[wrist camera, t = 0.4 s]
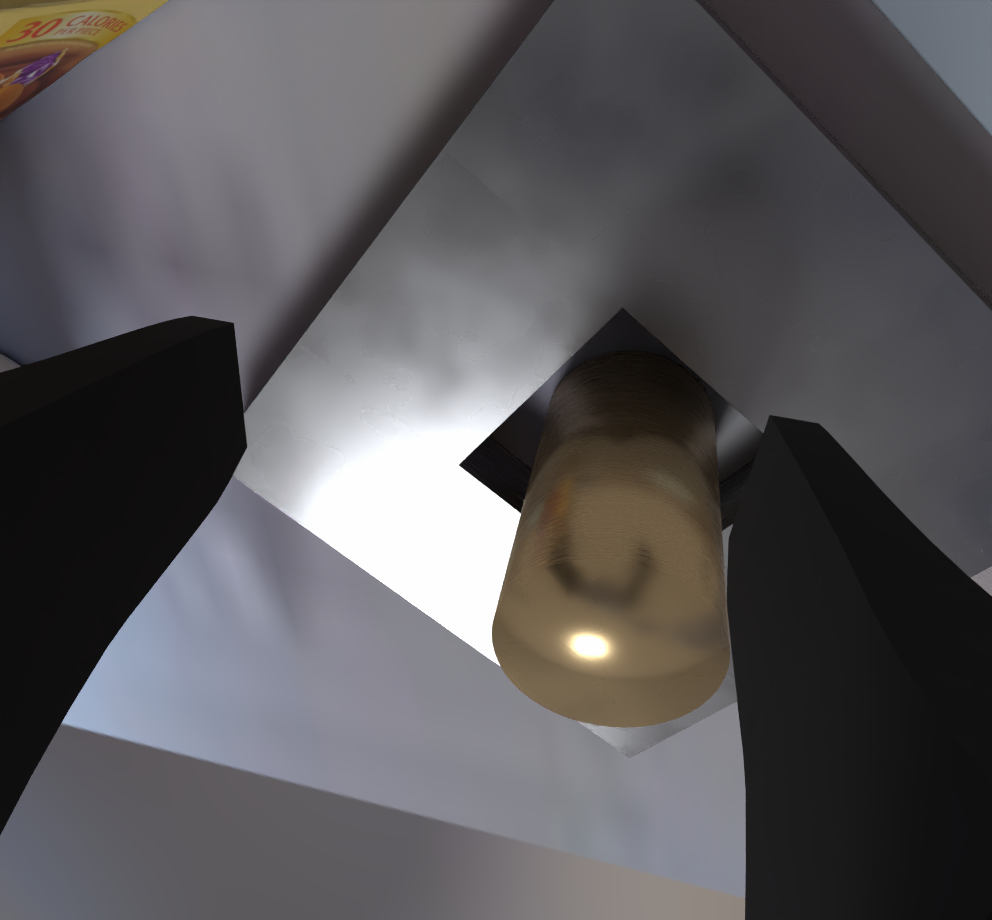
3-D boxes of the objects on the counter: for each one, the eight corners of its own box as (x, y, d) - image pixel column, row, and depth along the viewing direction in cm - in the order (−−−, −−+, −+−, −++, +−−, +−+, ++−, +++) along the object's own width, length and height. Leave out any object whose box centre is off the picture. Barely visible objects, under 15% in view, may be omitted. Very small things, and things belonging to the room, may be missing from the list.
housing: (1113, 431, 19) (1152, 480, 17) (632, 708, 28) (629, 758, 26) (623, -84, 15) (615, -83, 14) (241, 422, 24) (209, 459, 22)
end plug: (751, 427, 21) (783, 662, 14) (630, 518, 23) (611, 755, 17) (627, 317, 20) (602, 517, 13) (514, 424, 22) (446, 638, 16)
